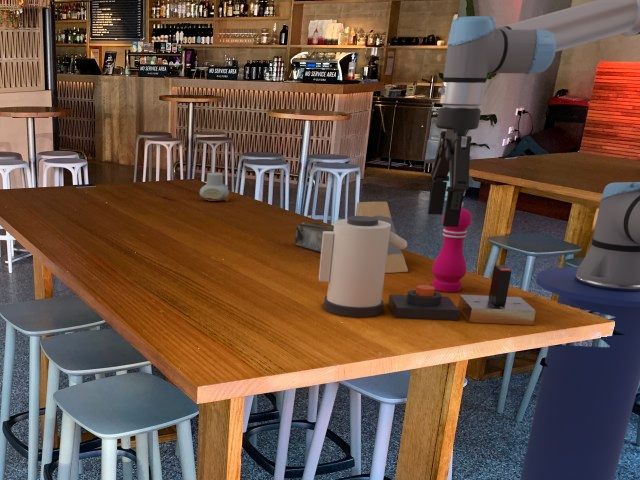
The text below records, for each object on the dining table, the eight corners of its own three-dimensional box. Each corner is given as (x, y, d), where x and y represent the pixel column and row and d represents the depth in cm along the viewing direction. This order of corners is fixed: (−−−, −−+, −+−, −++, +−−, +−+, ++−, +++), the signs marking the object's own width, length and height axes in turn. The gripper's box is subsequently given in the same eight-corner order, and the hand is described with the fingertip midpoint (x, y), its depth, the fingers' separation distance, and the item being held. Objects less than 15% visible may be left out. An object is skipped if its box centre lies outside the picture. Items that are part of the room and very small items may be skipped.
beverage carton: (315, 242, 228) (317, 219, 226) (362, 256, 213) (365, 231, 210) (293, 245, 225) (295, 222, 222) (339, 259, 209) (342, 234, 207)
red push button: (431, 293, 164) (432, 285, 164) (435, 298, 161) (436, 289, 160) (413, 292, 165) (414, 284, 164) (416, 297, 162) (418, 289, 161)
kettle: (393, 303, 171) (405, 214, 163) (403, 319, 160) (416, 225, 152) (314, 299, 173) (322, 212, 166) (318, 315, 162) (327, 222, 155)
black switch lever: (488, 298, 163) (494, 263, 160) (498, 298, 163) (504, 264, 160) (494, 305, 158) (501, 269, 156) (505, 305, 158) (511, 270, 155)
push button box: (446, 306, 168) (449, 288, 167) (457, 320, 159) (460, 301, 157) (388, 304, 170) (390, 286, 168) (395, 317, 161) (398, 298, 159)
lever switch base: (517, 310, 165) (520, 296, 164) (533, 325, 156) (536, 309, 155) (457, 308, 167) (460, 293, 166) (469, 322, 158) (471, 307, 157)
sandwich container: (377, 273, 195) (384, 212, 189) (350, 259, 209) (356, 202, 203) (409, 272, 196) (418, 211, 190) (380, 258, 210) (387, 200, 204)
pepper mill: (442, 283, 186) (455, 196, 179) (469, 290, 181) (484, 201, 173) (422, 287, 182) (435, 199, 175) (449, 294, 177) (464, 204, 169)
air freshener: (230, 199, 301) (231, 172, 297) (226, 203, 294) (227, 175, 290) (201, 198, 304) (202, 171, 300) (197, 201, 296) (198, 174, 293)
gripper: (425, 103, 161) (410, 208, 169) (455, 109, 138) (436, 231, 146) (464, 104, 160) (447, 210, 168) (500, 110, 137) (479, 232, 145)
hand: (442, 220), depth 157 cm, fingers open, 13 cm apart
